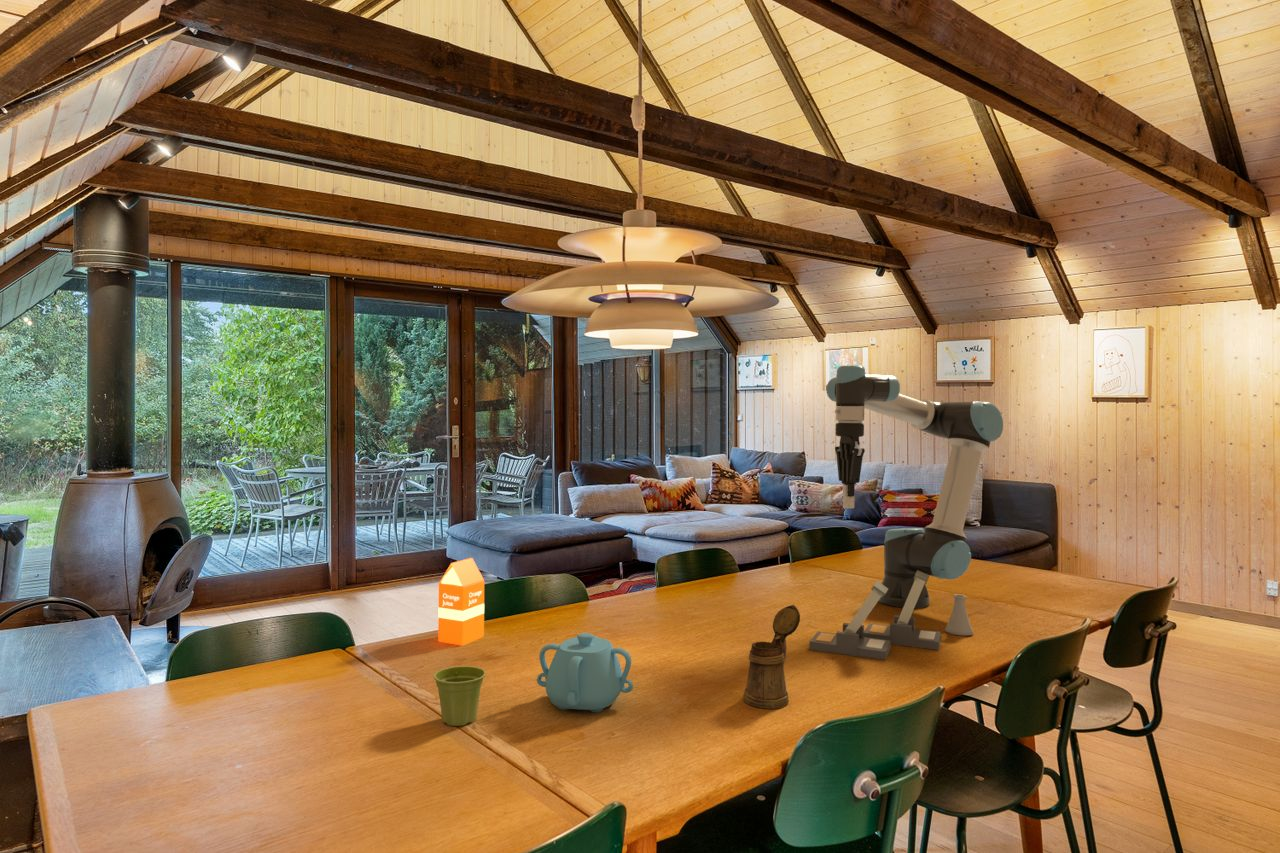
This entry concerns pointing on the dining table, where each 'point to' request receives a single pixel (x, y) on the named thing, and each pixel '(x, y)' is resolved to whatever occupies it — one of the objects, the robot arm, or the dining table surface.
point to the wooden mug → (771, 664)
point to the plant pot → (459, 693)
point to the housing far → (904, 634)
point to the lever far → (913, 597)
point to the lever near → (866, 607)
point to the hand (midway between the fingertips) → (848, 508)
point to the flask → (959, 618)
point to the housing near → (850, 644)
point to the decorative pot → (584, 673)
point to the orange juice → (461, 604)
